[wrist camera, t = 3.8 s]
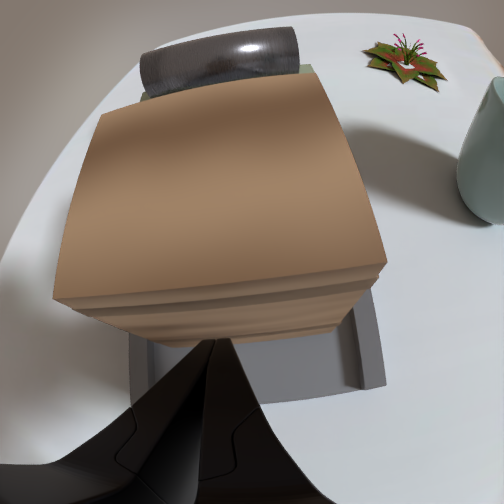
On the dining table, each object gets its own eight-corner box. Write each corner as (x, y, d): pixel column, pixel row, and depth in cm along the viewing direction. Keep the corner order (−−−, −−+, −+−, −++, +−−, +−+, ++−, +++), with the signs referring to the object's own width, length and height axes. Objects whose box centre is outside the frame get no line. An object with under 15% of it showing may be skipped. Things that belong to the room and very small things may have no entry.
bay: (377, 385, 15) (456, 382, 7) (144, 404, 16) (43, 406, 8) (307, 103, 25) (307, 19, 17) (162, 126, 26) (129, 51, 18)
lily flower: (445, 66, 28) (452, 41, 24) (449, 107, 24) (461, 76, 20) (367, 39, 32) (370, 13, 27) (351, 72, 28) (355, 39, 24)
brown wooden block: (333, 332, 15) (391, 261, 6) (170, 347, 16) (50, 299, 7) (310, 207, 19) (318, 72, 10) (172, 226, 19) (99, 115, 10)
